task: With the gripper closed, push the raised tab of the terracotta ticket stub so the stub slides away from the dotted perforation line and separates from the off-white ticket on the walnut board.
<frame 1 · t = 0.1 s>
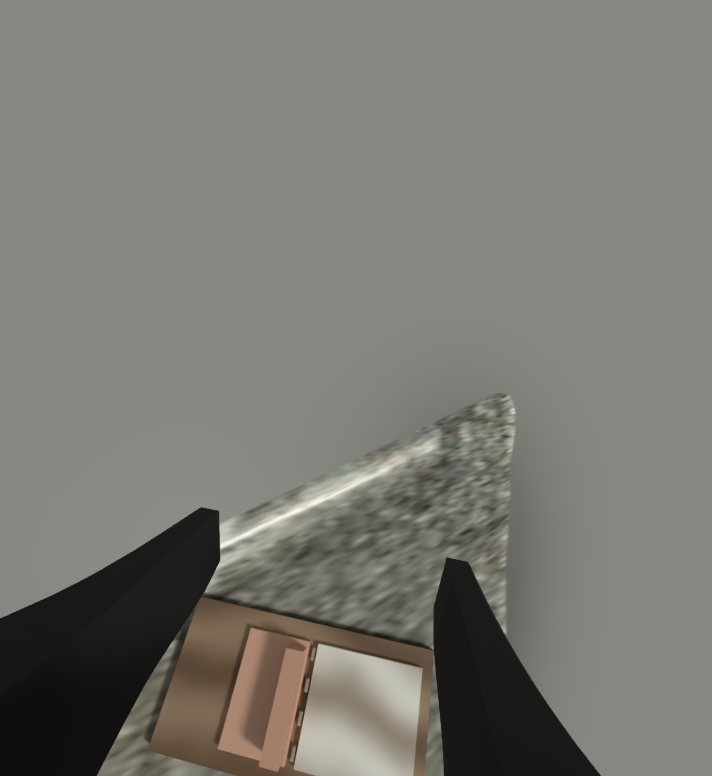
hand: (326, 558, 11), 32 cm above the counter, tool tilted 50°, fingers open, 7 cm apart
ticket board: (298, 695, 35), on the counter
ticket stub: (263, 695, 33), point 3 cm above the counter, slide at 0.0 cm
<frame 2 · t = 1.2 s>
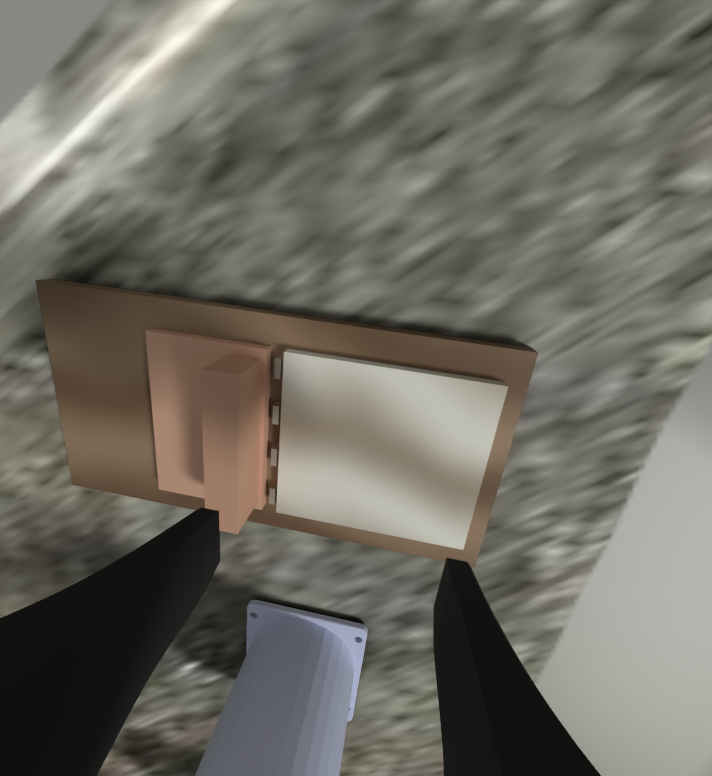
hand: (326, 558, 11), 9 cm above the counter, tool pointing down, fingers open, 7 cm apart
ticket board: (272, 422, 20), on the counter
ticket stub: (197, 434, 18), point 3 cm above the counter, slide at 0.0 cm
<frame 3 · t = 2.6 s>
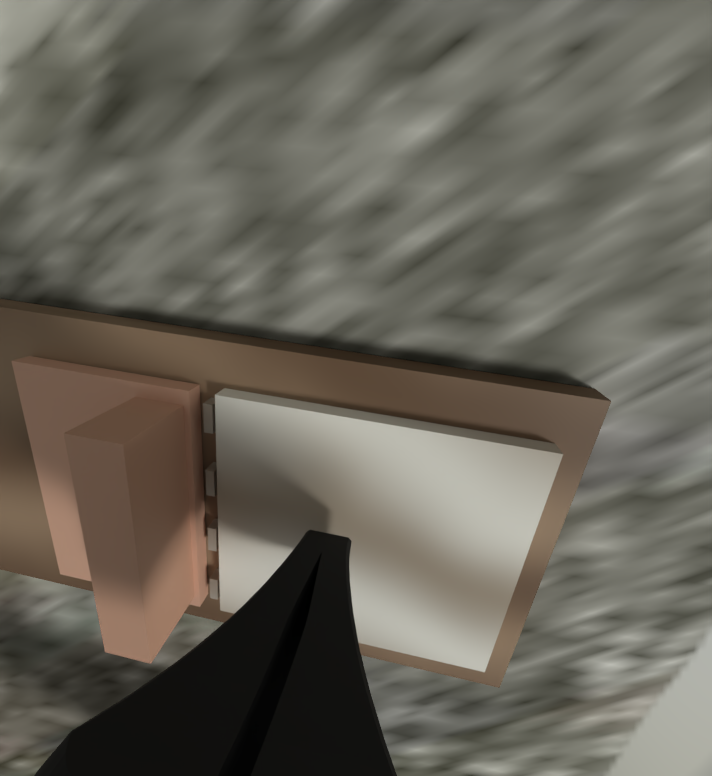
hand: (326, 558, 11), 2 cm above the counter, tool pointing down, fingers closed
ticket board: (214, 483, 14), on the counter
ticket stub: (93, 513, 12), point 3 cm above the counter, slide at 0.0 cm
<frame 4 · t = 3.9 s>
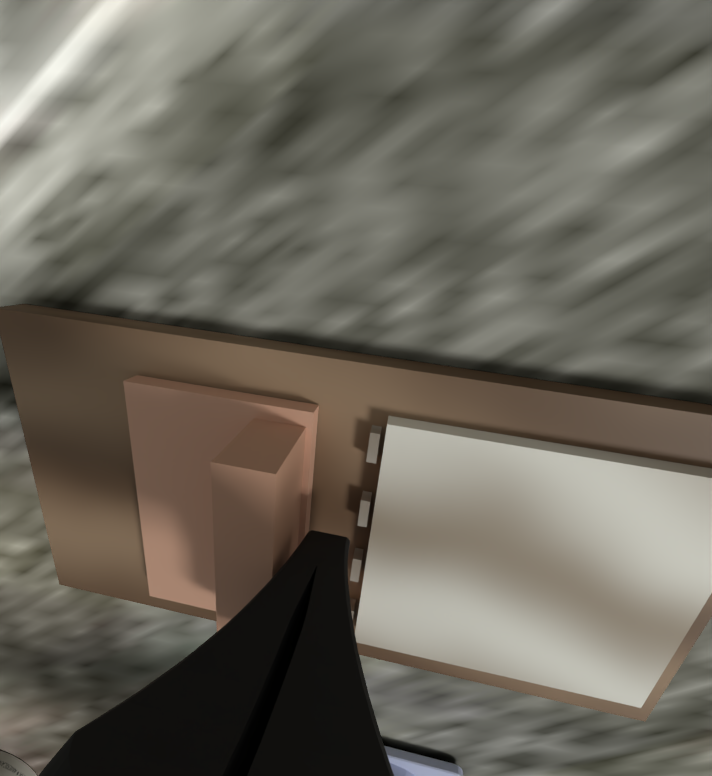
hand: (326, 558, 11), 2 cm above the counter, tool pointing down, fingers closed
coffee cup: (12, 766, 26), on the counter
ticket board: (346, 510, 14), on the counter
ticket stub: (204, 538, 12), point 3 cm above the counter, slide at 1.3 cm, touching gripper
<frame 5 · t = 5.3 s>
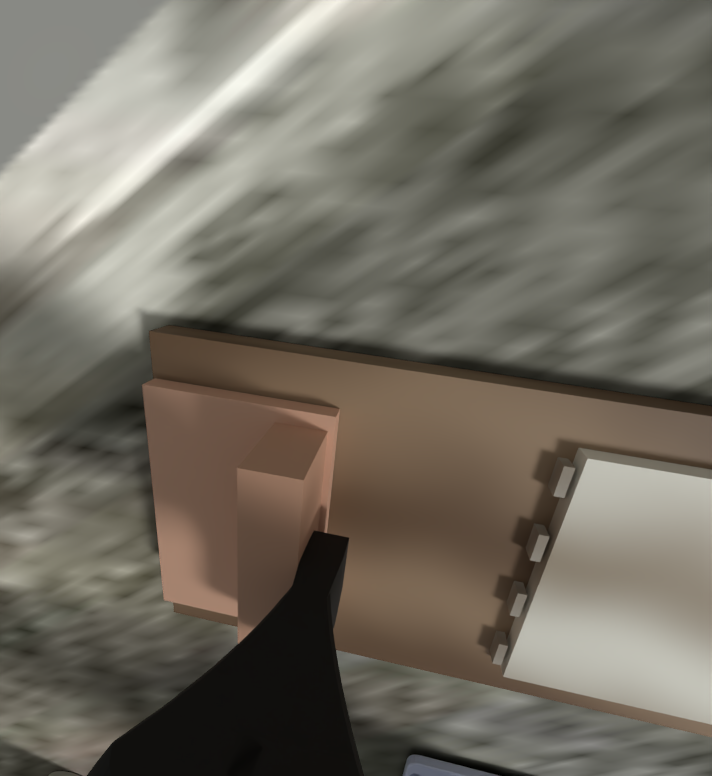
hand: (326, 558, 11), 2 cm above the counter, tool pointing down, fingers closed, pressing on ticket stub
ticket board: (496, 539, 13), on the counter
ticket stub: (223, 543, 12), point 3 cm above the counter, slide at 6.1 cm, touching gripper
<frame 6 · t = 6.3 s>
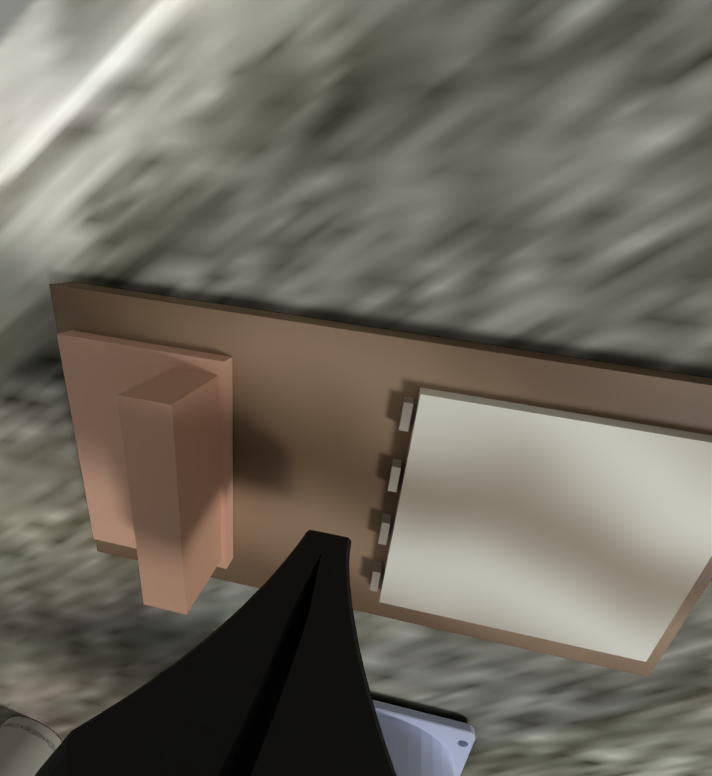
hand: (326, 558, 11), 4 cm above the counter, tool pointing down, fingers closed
coffee cup: (37, 733, 27), on the counter
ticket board: (374, 479, 15), on the counter
ticket stub: (131, 477, 13), point 3 cm above the counter, slide at 5.6 cm
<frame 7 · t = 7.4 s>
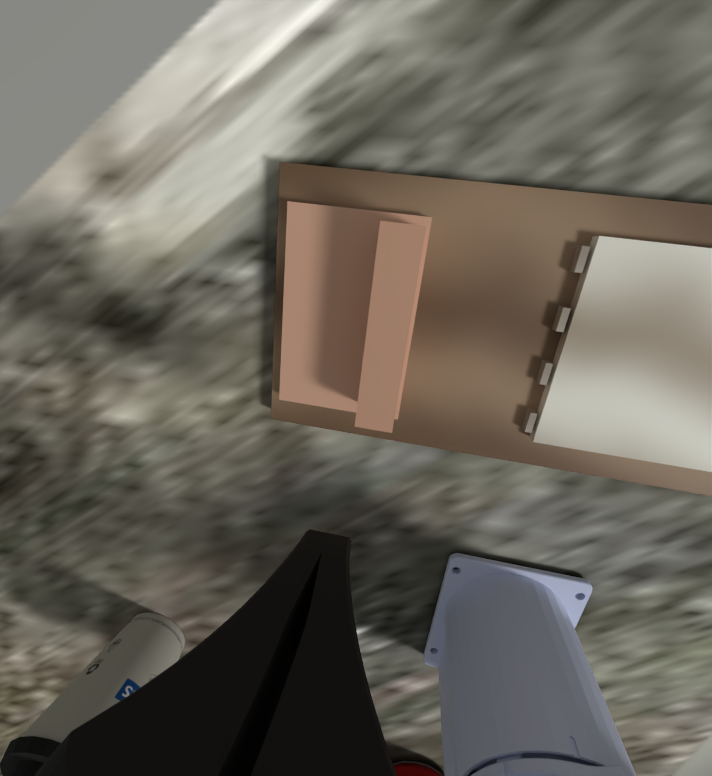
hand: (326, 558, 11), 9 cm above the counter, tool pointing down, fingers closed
beverage can: (415, 775, 31), on the counter
coffee cup: (159, 631, 29), on the counter
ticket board: (528, 338, 17), on the counter
ticket stub: (343, 322, 16), point 3 cm above the counter, slide at 5.6 cm
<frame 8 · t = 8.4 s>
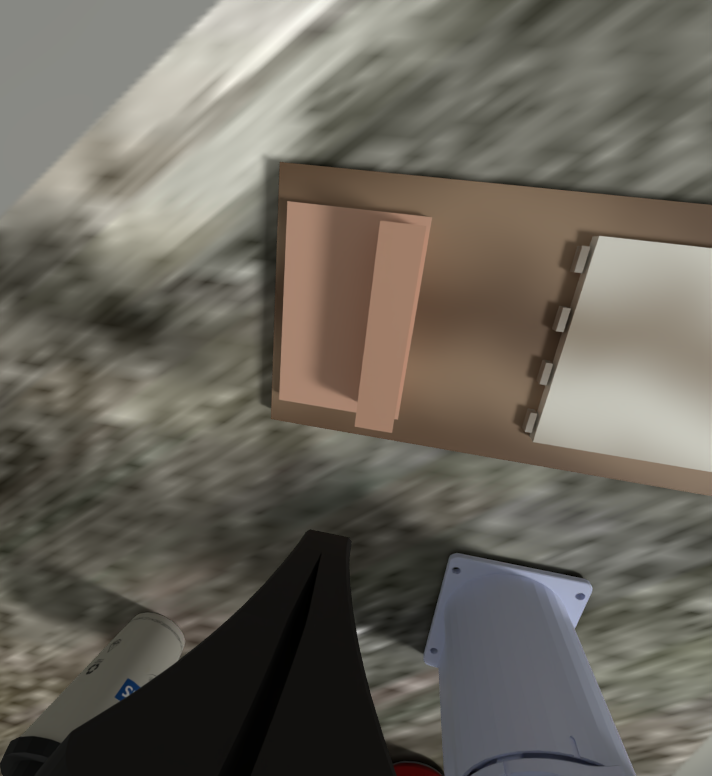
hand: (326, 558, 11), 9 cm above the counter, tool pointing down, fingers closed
beverage can: (415, 775, 31), on the counter
coffee cup: (159, 631, 29), on the counter
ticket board: (528, 338, 17), on the counter
ticket stub: (343, 322, 16), point 3 cm above the counter, slide at 5.6 cm
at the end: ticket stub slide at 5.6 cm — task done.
